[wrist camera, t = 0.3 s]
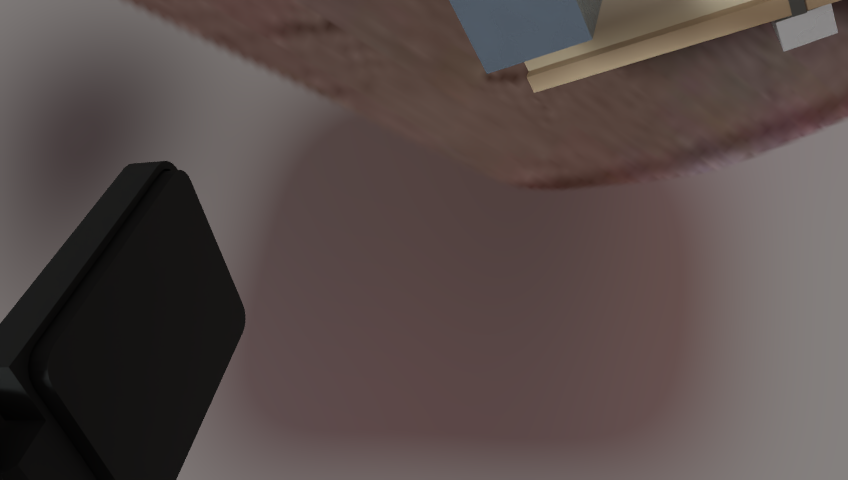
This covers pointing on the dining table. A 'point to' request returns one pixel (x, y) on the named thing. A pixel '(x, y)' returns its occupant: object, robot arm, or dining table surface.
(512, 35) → the grey block
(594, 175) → the dining table surface
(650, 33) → the beam
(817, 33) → the pivot stand
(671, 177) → the dining table surface
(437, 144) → the dining table surface
